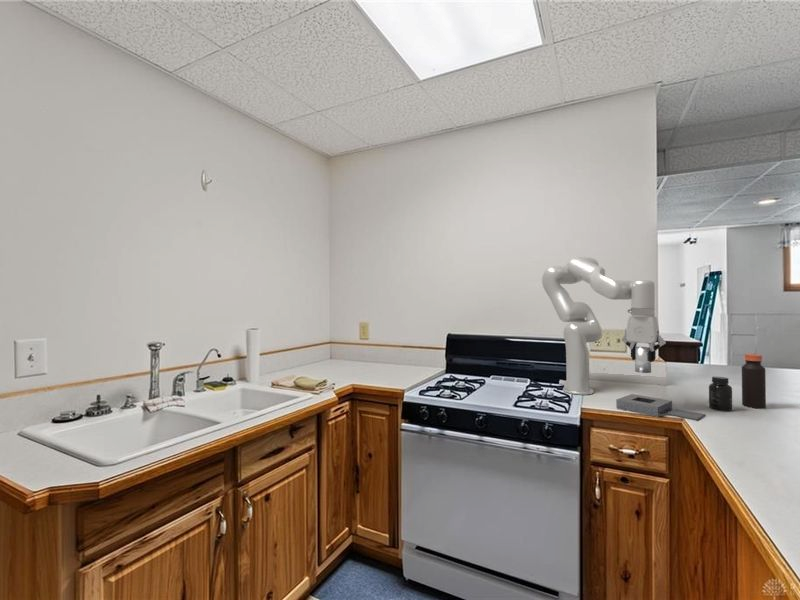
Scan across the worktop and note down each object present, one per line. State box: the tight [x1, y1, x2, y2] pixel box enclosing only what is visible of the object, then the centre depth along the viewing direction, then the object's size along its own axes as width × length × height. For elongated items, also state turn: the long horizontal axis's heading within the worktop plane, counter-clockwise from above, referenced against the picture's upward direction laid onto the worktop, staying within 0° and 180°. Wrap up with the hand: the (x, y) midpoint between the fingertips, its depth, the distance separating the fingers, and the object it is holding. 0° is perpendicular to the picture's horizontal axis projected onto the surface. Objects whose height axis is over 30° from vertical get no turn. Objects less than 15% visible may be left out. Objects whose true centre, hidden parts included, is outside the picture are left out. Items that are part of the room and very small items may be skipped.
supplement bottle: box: [708, 376, 733, 412], centre depth 146 cm, size 7×7×12 cm
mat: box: [666, 408, 706, 422], centre depth 139 cm, size 9×9×1 cm
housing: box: [615, 393, 673, 418], centre depth 147 cm, size 14×14×4 cm
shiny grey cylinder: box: [634, 346, 652, 374], centre depth 147 cm, size 5×5×9 cm
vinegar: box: [741, 353, 767, 409], centre depth 149 cm, size 7×7×20 cm
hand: (642, 359), depth 147 cm, fingers closed on shiny grey cylinder, 5 cm apart
